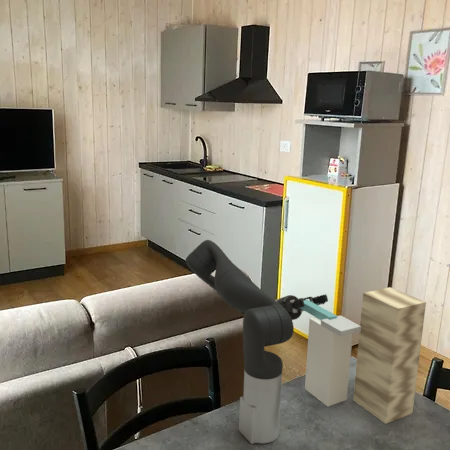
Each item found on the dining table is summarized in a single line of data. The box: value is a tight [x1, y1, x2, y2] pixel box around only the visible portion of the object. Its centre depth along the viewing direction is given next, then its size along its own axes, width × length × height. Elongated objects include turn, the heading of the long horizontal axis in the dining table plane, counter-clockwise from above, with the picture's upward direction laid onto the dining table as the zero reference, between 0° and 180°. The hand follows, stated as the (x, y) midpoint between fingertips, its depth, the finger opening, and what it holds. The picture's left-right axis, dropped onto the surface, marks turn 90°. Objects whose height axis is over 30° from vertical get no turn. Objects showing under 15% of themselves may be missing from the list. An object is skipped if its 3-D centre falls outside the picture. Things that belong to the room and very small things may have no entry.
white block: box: [304, 316, 354, 407], centre depth 140 cm, size 7×10×22 cm
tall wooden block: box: [353, 286, 427, 425], centre depth 134 cm, size 10×12×32 cm
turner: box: [301, 299, 361, 337], centre depth 139 cm, size 7×20×2 cm, turn 29°
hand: (314, 300), depth 143 cm, fingers open, 8 cm apart
